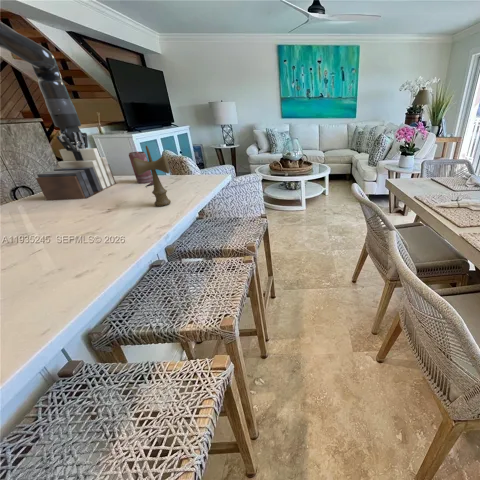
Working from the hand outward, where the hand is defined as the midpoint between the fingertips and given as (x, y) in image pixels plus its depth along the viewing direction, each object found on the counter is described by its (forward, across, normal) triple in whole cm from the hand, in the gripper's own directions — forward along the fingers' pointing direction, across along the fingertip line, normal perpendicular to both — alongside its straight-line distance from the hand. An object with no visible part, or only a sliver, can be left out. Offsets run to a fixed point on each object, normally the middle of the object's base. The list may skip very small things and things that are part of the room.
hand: (82, 160), depth 105 cm
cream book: (+11, 0, 0) cm, 11 cm away
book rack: (+12, +6, 0) cm, 13 cm away
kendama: (+12, +24, +35) cm, 44 cm away
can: (+12, -5, +18) cm, 22 cm away
